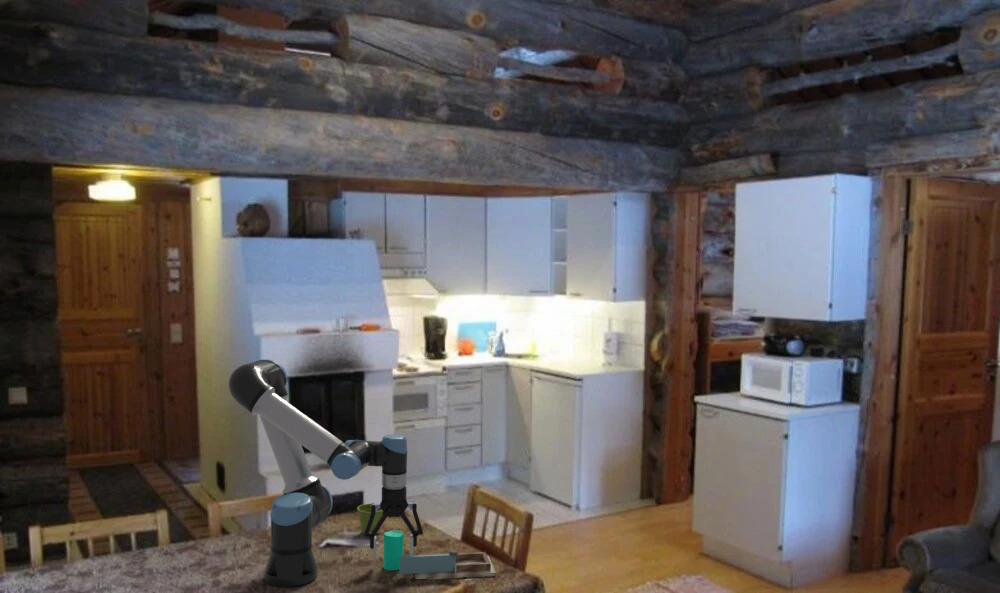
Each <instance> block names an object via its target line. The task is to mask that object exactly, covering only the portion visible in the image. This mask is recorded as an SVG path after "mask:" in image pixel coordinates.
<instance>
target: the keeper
mask: <svg viewBox="0 0 1000 593" xmlns="http://www.w3.org/2000/svg"><path fill="white" fill-rule="evenodd" d="M458 553H459V552H458V551H457V550H456V549H455V550H454V549H451V550H450V551H449V553H436V554H419V555H417V554H415V555H414V554H413V555H411V556H410V555H403V556H400V557H399V570H398V573H399V575H409V574H410V575H411V574H414V573H433V572H454V571H456V555H457V554H458Z"/></svg>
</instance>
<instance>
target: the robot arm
mask: <svg viewBox="0 0 1000 593" xmlns="http://www.w3.org/2000/svg"><path fill="white" fill-rule="evenodd" d="M287 382H288V375H287V371H286V370H285V368H284V366H282V364H280V363H279V362H278V361H276V360H273V359H259V360H256V361H252V362H250V363H246V364H243V365H240V366H238V367H237V368H235V370H233V371H232V373H231V375H230V377H229V380H228V389H229V390H228V391H229V393H230V394H231V396H232V398H233V399H234V400H235V401H236V403H237V404H239V405H240V406H241V407H242V408H244V409H245V410H247V411H248V412H249V413H250V414H251V415H253V416H254V415H259V417H260V421H261V423H262V425H263V428H264V431H265V434H266V436H267V437H266V438H267V439H268V442H269V444H270V448H271V450H272V453H273V455H274V458H275V461H276V464H277V466H278V469H279V471H280V475H281V478H282V479H283V482H284V488H283V490H282V495H280V496H277V497H276V498H275V499H273V501H272V503H271V509H270V554H269V556H268V560H267V562H266V566H265V568H264V581H265V583H267V584H268V585H271V586H275V587H285V588H287V587H288V588H289V587H296V586H302V585H305V584H309V583H310V582H313V581H314V580H316V579H317V577H318V565H317V561H316V559H315V556H314V552H313V548H312V547H313V546H312V543H313V542H312V539H313V535H312V534H313V533H312V532H313V530H314V529H315V528H316V527H318V526H319V525H320V524H322V523H323V522H324V521H325V520H326V519H327V518H328V516H329V514H330V513H331V512H332V508H333V496H332V493H331V491H330V490H329V489H328V487H326V486H324V485H323V484H322V483H321V480H320V477H319V476H316V475H314V474H313V472H312V469H311V468H310V464H309V462H308V459H307V456H306V455H305V452H304V449H303V447H304V448H305V449H307V450H308V451H309V452H311V453H312V454H313V455H315V456H316V457H317V458H319V459H320V460H322V461H323V462H324V463H326V464H327V465H328V466H330V469H331V472H332V473H333V475H334V476H335V478H337V479H339V480H342V481H344V480H350V479H351V478H353V477H356V476H357V475H358V474H359V473H360V472H361V471H362V470H363V469H365V468H366V467H381V486H382V487H381V500H380V503H374V502H372V503H370V504H371V513H370V516H369V519H368V522H367V525H366V528H365V531H364V533H363V535H364V537H365V538H369V548H370V549H373V561H377V535H378V534H377V532H378V530H379V529H380V530H381V527H382V526H383V524H384V523H385V521H386V520H387V518H399V517H401V519H402V520H403V522H404V523H405V525H406V526H407V528H408V530H409V531H410V533H411V534H410V536H409V538H410V539H409V540H410V541H409V556H411V555H414V548H415V547H417V545H418V536H421V535H423V534H424V531H423V527H422V523H421V522H420V521H421V520H420V518H419V515H418V512H417V511H418V510H417V507H418V504H417V502H416V501H412V502H408V501H407V493H408V492H407V490H408V488H407V482H408V481H407V478H408V477H407V474H408V472H407V471H408V470H407V469H408V466H407V465H408V452H409V450H408V442H407V437H406V436H404V434H399V433H398V434H397V433H396V434H395V433H394V434H391V433H390V434H385V435H384V436H383V437H381V438H382V440H379V441H378V440H377V441H375V440H360V439H354V440H353V439H348V440H345V442H343V441H342V440H341V439H339V438H338V437H337V436H336V435H334V434H332V433H331V432H330V431H328V430H327V429H325V428H324V427H323V426H321V425H320V424H319V423H317V422H316V421H315V420H313V419H312V418H310V417H309V416H308V415H306V414H305V413H303V412H301V411H300V410H299V409H298V408H297V407H295V406H294V405H292V404H291V403H290V402H288V401H287V400H288V397H289V393H288V391H287V388H286V385H287ZM379 508H381V509H382V511H383V513H382V515H381V517H380V518H379V520H378V522H377V523H376V525H375V526H374V528H373V530H372V531H371V532H369V531H370V528H371V525H372V522H373V519H374V516H375V512H376V511H378V509H379ZM407 508H409V510H410V511H412V516H413V518H414V522H415V524H416V527H417V529H416V528H415V527H414V525H413V524H412V522H411V521H410V519H409V517H408V515H407V514H406V512H405V511H406V510H407Z"/></svg>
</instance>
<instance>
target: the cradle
mask: <svg viewBox="0 0 1000 593" xmlns="http://www.w3.org/2000/svg"><path fill="white" fill-rule="evenodd" d="M413 574H415V575H414V579H428V580H442V579H443V580H444V579H447V580H448V579H464V578H463V577H467V578H482V577H485V576H486V577H496V576H497V572H496V569H495V567H494V565H493V563H492V561H491V559H490V556H489V555H488V554H487V553H486V551H478V552H477V551H474V552H458V554H457V555H456V571H454V572H433V573H413Z"/></svg>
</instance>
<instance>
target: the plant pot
mask: <svg viewBox="0 0 1000 593" xmlns="http://www.w3.org/2000/svg"><path fill="white" fill-rule="evenodd" d="M371 504H372V503H365V504H360V505H358V506H357V508H356V509H357V511H358V514H359V520H360V522H359V523H360V530H361V534H364V531H365V528H366V525H367V522H368V519H369V516H370V513H371ZM382 513H383V511H382V509H381V508H379V509H378V511H376V512H375V516H374V519H373V522H372V525H371V528H370V531H369V532H371V531H372V530H373V528H374V526H375V525H376V523H377V522H378V520H379V518H380V517H381V515H382ZM380 530H381V528H380V529H379V530H378V532H377V534H376V535H378V534H380Z"/></svg>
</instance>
